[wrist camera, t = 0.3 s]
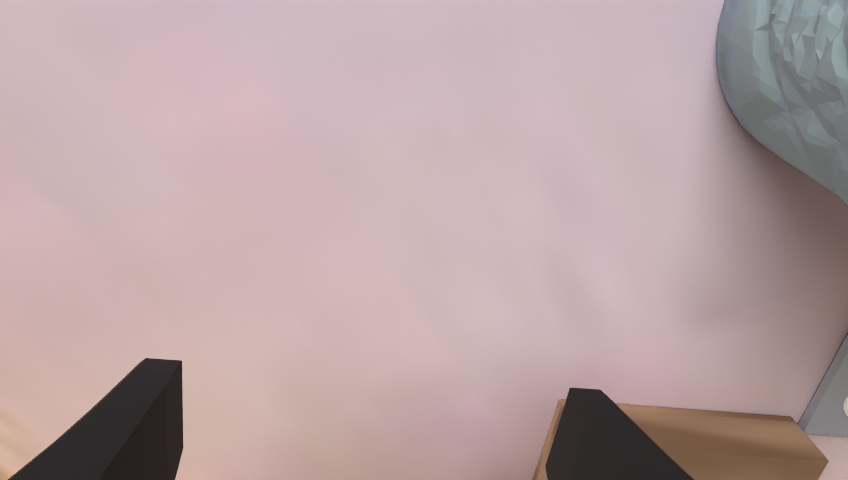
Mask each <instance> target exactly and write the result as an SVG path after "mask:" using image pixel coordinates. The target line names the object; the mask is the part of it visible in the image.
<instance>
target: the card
mask: <svg viewBox="0 0 848 480" xmlns="http://www.w3.org/2000/svg"><path fill="white" fill-rule="evenodd" d="M798 426H799V427H800V428H801V429H802V430H803V432H804V433H805V434H812V435H827V436H841V437H848V334H847V336H846V338H845V340H844V341H843V343H842V345H841V347H840V349H839V351H838V352H837V354H836V356H835V358H834V360H833V361H832V363H831V365H830V367H829V369H828V371H827V372H826V374H825V376H824V378H823V380H822V382H821V383H820V385H819V387H818V389H817V391H816V393H815V394H814V396H813V398H812V400H811V402H810V404H809V405H808V407H807V409H806V411H805V413H804V415H803V416H802V418H801V420H800V422H799V424H798Z"/></svg>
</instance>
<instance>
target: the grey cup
mask: <svg viewBox="0 0 848 480" xmlns="http://www.w3.org/2000/svg"><path fill="white" fill-rule="evenodd" d="M716 63H717V69H718V76H719V83H720V86H721V88H722V91H723V94H724V97H725V100H726V102H727V103H728V105H729V107H730V109H731V110H732V112H733V114H734V116H735V117H736V118H737V120H738V121H739V123H740V124H741V126H742V127H743V128H744V129H745V130H746V131H747V132H748V133H749V134H750V135H751V136H752V137H753V138H755V139H756V140H757V141H758V142H760V143H761V144H762V145H764V146H765V147H766V148H767V149H769V150H770V151H772V152H773V153H774V154H776V155H777V156H779V157H780V158H781V159H783V160H784V161H786V162H787V163H788V164H790V165H791V166H793V167H795V168H796V169H798V170H800V171H801V172H803V173H805V174H806V175H808V176H809V177H811V178H812V179H813V180H815V181H816V182H817V183H819V184H820V185H822V186H823V187H825V188H826V189H828V190H829V191H831V192H832V193H834V194H835V195H837V196H839V197H840V198H841V200H842V201H843V202H844V203H845V204H846V205H848V0H725V2H724V6H723V10H722V13H721V17H720V21H719V25H718V34H717V42H716Z"/></svg>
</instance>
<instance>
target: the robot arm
mask: <svg viewBox="0 0 848 480" xmlns="http://www.w3.org/2000/svg"><path fill="white" fill-rule="evenodd" d="M182 450H183V406H182V361H178V360H164V359H149V358H146V359H144V360H143V361H142V362H140V363H139V364H138V365H137V366H136V367H135V368H134V369H133V370H132V371H131V372H130V373H129V374H128V375H127V376H126V377H125V378H123V379H122V380H121V381H120V382H119V383H118V384H117V385H116V386H115V387H114V388H113V389H112V390H111V391H110V392H109V393H108V394H107V395H106V396H105V397H104V398H103V399H102V400H100V401H99V402H98V403H97V404H96V405H95V406H94V407H93V408H92V409H91V410H90V411H89V412H87V413H86V414H85V415H84V416H83V417H82V418H81V419H80V420H78V421H77V422H76V423H75V424H74V425H73V426H72V427H71V428H70V429H68V430H67V431H66V432H65V433H64V434H63V435H62V436H61V437H59V438H58V439H57V440H56V441H55V442H54V443H52V444H51V445H50V446H49V447H48V448H46V449H45V450H44V451H43V452H41V453H40V454H39V455H38V456H37V457H35V458H34V459H33V460H32V461H30V462H29V463H28V464H27V465H25V466H24V467H23V468H22V469H20V470H19V471H18V472H17V473H16V474H14V475H13V476H12V477H11V478H9V479H8V480H175V477H176V474H177V470H178V466H179V462H180V458H181V454H182ZM545 468H546V474H547V479H548V480H694V479H693V478H692V477H691V476H690V475H688V474H687V473H686V472H685V471H684V470H683V469H682V468H681V467H680V466H679V465H678V464H677V463H676V462H675V461H674V460H673V459H671V458H670V457H669V456H668V455H667V454H666V453H665V452H664V451H663V450H662V449H661V448H660V447H659V446H658V445H657V444H656V443H655V442H654V441H653V440H652V439H651V438H650V437H649V436H648V435H647V434H646V433H645V432H644V431H643V430H642V429H641V428H640V427H639V426H638V425H637V424H636V423H635V422H634V421H632V420H631V419H630V418H629V417H628V416H627V415H626V414H625V413H624V412H623V411H622V410H621V409H620V408H619V407H618V406H617V405H616V404H615V403H614V402H613V401H612V400H611V399H610V398H609V397H608V396H607V395H605V394H604V393H603V392H602V391H601V390H596V389H581V388H570V390H569V393H568V396H567V399H566V402H565V405H564V409H563V412H562V415H561V418H560V421H559V424H558V427H557V431H556V434H555V437H554V440H553V443H552V446H551V449H550V453H549V456H548V459H547V462H546V465H545Z"/></svg>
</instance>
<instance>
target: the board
mask: <svg viewBox="0 0 848 480" xmlns="http://www.w3.org/2000/svg"><path fill="white" fill-rule="evenodd" d="M565 402H566V400H559V402H558V405H557V408H556V411H555V414H554V417H553V420H552V423H551V426H550V429H549V432H548V435H547V438H546V441H545V444H544V448H543V451H542V454H541V457H540V460H539V463H538V466H537V469H536V472H535V475H534V478H533V480H548V479H547V474H546V468H545V465H546V462H547V459H548V456H549V453H550V449H551V446H552V443H553V440H554V437H555V434H556V431H557V427H558V424H559V421H560V418H561V415H562V412H563V409H564V405H565ZM616 405H617V406H618V407H619V408H620V409H621V410H622V411H623V412H624V413H625V414H626V415H627V416H628V417H629V418H630V419H631V420H632V421H634V422H635V423H636V424H637V425H638V426H639V427H640V428H641V429H642V430H643V431H644V432H645V433H646V434H647V435H648V436H649V437H650V438H651V439H652V440H653V441H654V442H655V443H656V444H657V445H658V446H659V447H660V448H661V449H662V450H663V451H664V452H665V453H666V454H667V455H668V456H669V457H670V458H671V459H673V460H674V461H675V462H676V463H677V464H678V465H679V466H680V467H681V468H682V469H683V470H684V471H685V472H686V473H687V474H688V475H690V476H691V477H692V478H693V479H694V480H818V478H819V477H820V475H821V473H822V472H823V470H824V468H825V467H826V465H827V463H828V460H827V459H826V457H825V456H824V455H823V454H822V453H821V452H820V450H819V449H818V448H817V447H816V446H815V445H814V443H813V442H812V441H811V440H810V439H809V437H808V436H807V435H806V434H805V433H804V432H803V430H802V429H801V428H800V427H799V426H798V425H797V423H796V422H795V421H794V420H793V419H792V418H791V417H786V416H773V415H759V414H746V413H732V412H719V411H706V410H692V409H679V408H665V407H652V406H638V405H625V404H616Z"/></svg>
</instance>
